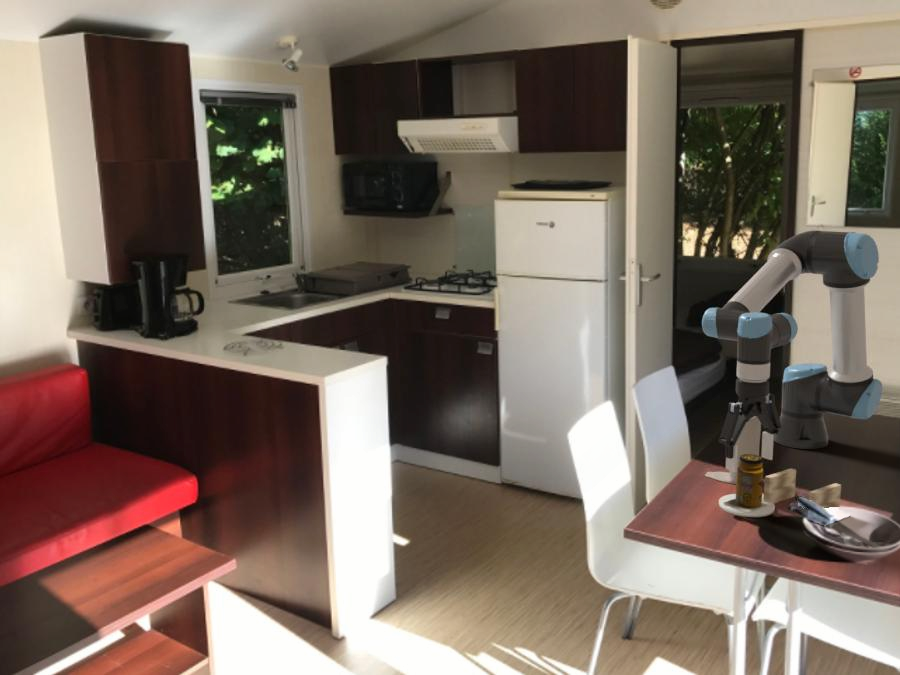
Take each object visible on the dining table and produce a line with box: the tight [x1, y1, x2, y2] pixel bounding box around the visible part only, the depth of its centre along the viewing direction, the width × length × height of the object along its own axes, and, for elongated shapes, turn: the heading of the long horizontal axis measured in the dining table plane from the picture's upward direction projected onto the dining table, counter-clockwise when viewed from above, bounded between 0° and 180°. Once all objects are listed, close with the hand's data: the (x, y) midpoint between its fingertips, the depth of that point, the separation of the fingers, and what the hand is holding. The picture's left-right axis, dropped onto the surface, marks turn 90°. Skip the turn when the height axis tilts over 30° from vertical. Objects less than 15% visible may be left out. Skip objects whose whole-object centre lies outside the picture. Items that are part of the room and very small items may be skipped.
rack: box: [762, 468, 842, 508], centre depth 221 cm, size 10×20×7 cm, turn 33°
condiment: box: [723, 454, 769, 513], centre depth 221 cm, size 7×8×12 cm
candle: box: [704, 416, 762, 485], centre depth 239 cm, size 7×14×20 cm, turn 55°
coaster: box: [718, 493, 776, 518], centre depth 223 cm, size 13×13×1 cm
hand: (749, 464), depth 221 cm, fingers open, 12 cm apart
